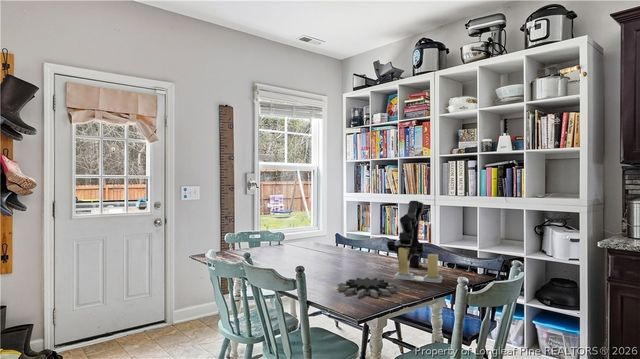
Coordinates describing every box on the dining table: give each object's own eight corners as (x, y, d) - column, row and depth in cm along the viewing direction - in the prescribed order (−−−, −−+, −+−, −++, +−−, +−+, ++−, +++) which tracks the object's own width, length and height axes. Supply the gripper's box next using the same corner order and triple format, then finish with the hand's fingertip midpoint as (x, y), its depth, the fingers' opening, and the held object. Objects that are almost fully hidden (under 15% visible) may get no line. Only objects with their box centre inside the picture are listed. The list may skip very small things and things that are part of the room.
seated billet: (429, 278, 199) (428, 253, 199) (438, 279, 197) (437, 254, 197) (427, 280, 195) (427, 255, 195) (437, 281, 193) (436, 255, 193)
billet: (400, 271, 205) (400, 247, 205) (409, 272, 203) (408, 247, 203) (398, 273, 200) (398, 248, 201) (407, 273, 199) (407, 249, 199)
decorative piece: (366, 271, 202) (413, 282, 179) (366, 279, 202) (413, 291, 179) (321, 281, 183) (368, 295, 160) (321, 289, 183) (368, 304, 160)
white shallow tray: (397, 276, 207) (397, 271, 207) (442, 280, 198) (442, 275, 198) (393, 280, 199) (393, 275, 199) (440, 284, 190) (440, 279, 190)
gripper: (387, 225, 209) (382, 249, 199) (423, 227, 202) (420, 252, 192) (391, 238, 216) (386, 262, 206) (425, 240, 209) (422, 265, 199)
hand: (403, 260), depth 200 cm, fingers closed on billet, 4 cm apart
